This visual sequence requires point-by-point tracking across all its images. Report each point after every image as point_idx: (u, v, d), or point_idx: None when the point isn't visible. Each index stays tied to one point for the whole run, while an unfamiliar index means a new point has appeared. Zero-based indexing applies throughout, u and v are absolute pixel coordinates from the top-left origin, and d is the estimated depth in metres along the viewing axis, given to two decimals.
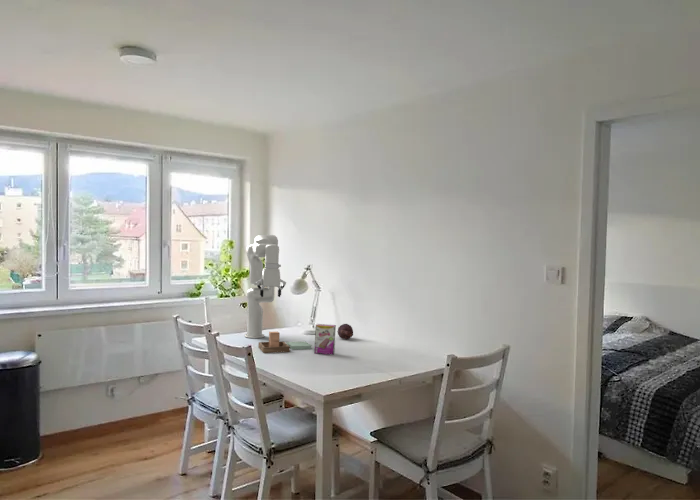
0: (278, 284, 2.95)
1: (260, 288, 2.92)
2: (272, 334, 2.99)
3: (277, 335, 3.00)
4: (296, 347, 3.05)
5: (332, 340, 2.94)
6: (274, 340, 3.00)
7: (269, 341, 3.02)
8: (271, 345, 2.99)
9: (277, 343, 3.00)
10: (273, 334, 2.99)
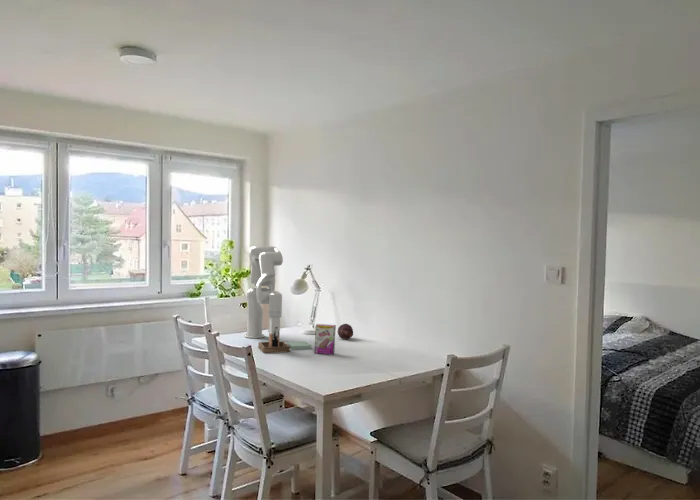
0: None
1: (277, 339, 2.99)
2: (272, 334, 2.99)
3: None
4: (296, 347, 3.05)
5: (332, 340, 2.94)
6: None
7: (269, 341, 3.02)
8: (271, 345, 2.99)
9: None
10: None
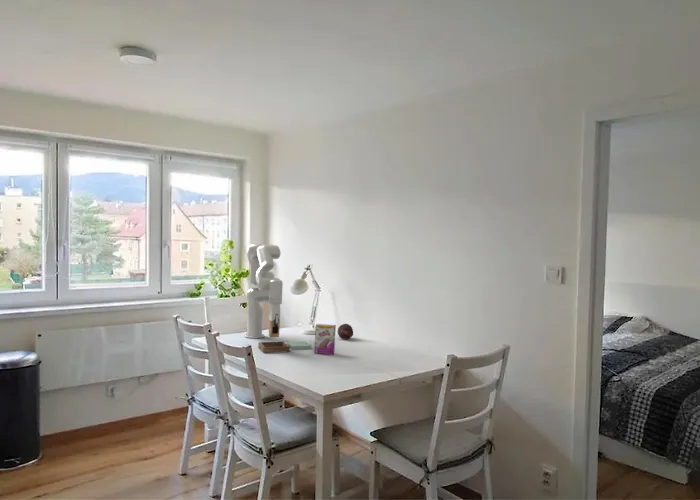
0: None
1: (277, 325, 2.99)
2: (272, 321, 2.99)
3: None
4: (296, 347, 3.05)
5: (332, 340, 2.94)
6: None
7: (269, 328, 3.02)
8: (271, 332, 3.00)
9: (278, 330, 3.01)
10: None
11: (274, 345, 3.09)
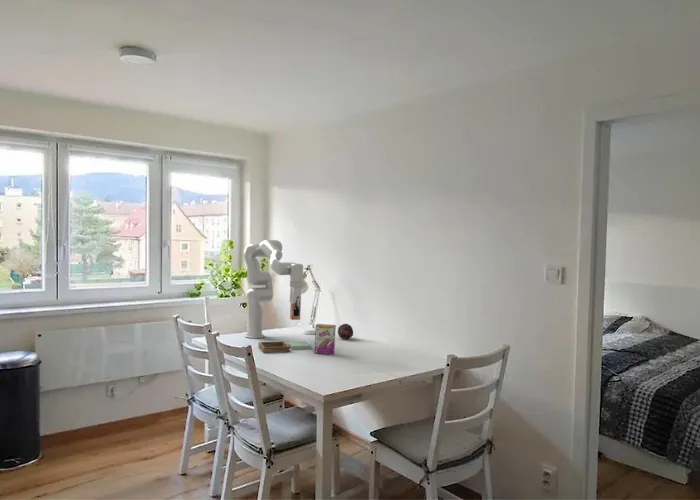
0: None
1: (298, 308, 3.06)
2: None
3: None
4: (296, 347, 3.05)
5: (332, 340, 2.94)
6: None
7: (290, 311, 3.09)
8: (292, 314, 3.06)
9: (299, 313, 3.07)
10: None
11: (274, 345, 3.09)
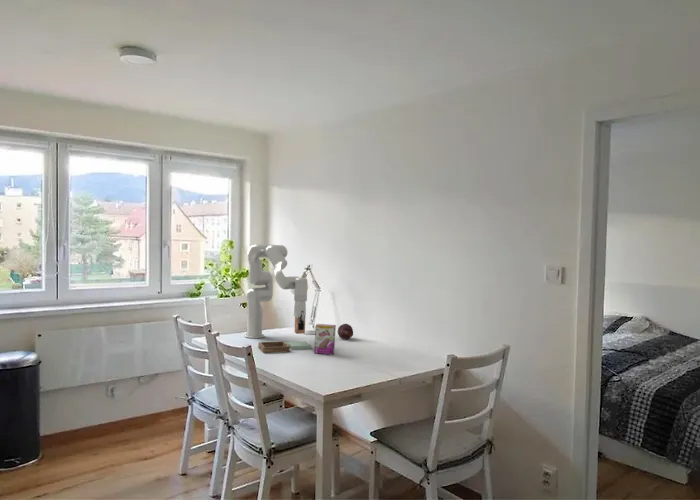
0: None
1: (303, 322, 3.08)
2: None
3: None
4: (296, 347, 3.05)
5: (332, 340, 2.94)
6: None
7: (295, 324, 3.11)
8: (297, 328, 3.08)
9: None
10: None
11: (274, 345, 3.09)
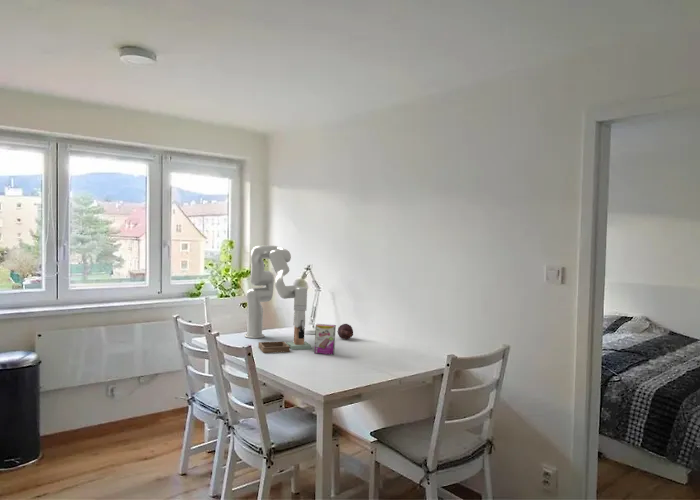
0: None
1: (303, 330, 3.06)
2: (297, 328, 3.08)
3: None
4: (296, 347, 3.05)
5: (332, 340, 2.94)
6: None
7: (294, 335, 3.11)
8: (296, 339, 3.09)
9: None
10: (298, 328, 3.09)
11: (274, 345, 3.09)
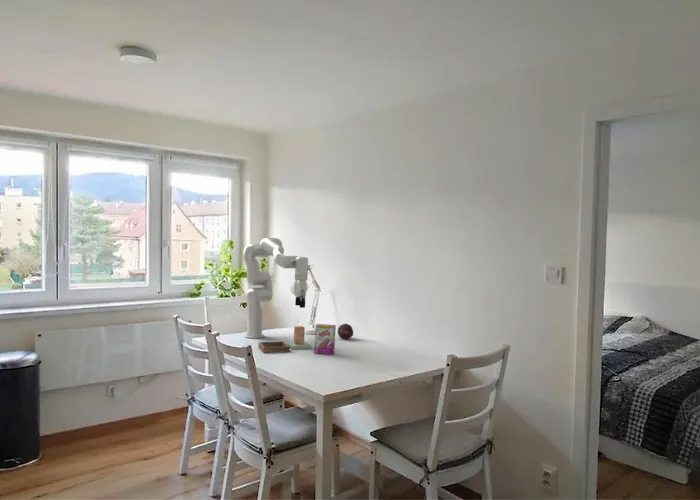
0: None
1: (304, 299, 3.06)
2: (297, 328, 3.08)
3: (302, 329, 3.10)
4: (296, 347, 3.05)
5: (332, 340, 2.94)
6: (299, 335, 3.09)
7: (294, 335, 3.11)
8: (296, 339, 3.09)
9: (303, 337, 3.10)
10: (298, 328, 3.09)
11: (274, 345, 3.09)
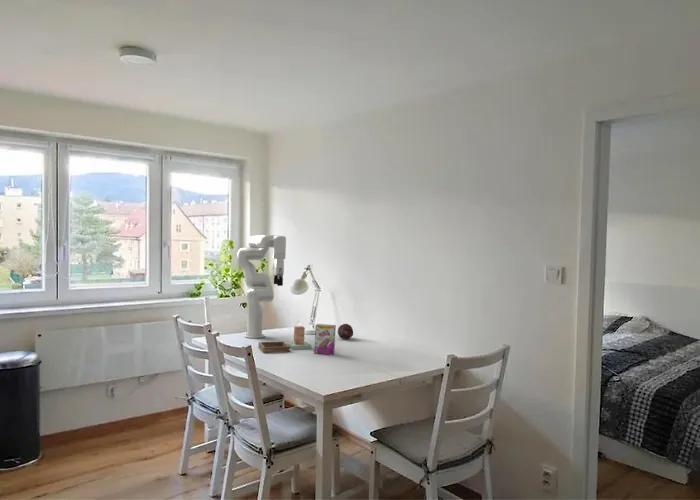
0: None
1: (282, 277, 3.09)
2: (297, 328, 3.08)
3: (302, 329, 3.10)
4: (296, 347, 3.05)
5: (332, 340, 2.94)
6: (299, 335, 3.09)
7: (294, 335, 3.11)
8: (296, 339, 3.09)
9: (303, 337, 3.10)
10: (298, 328, 3.09)
11: (274, 345, 3.09)
